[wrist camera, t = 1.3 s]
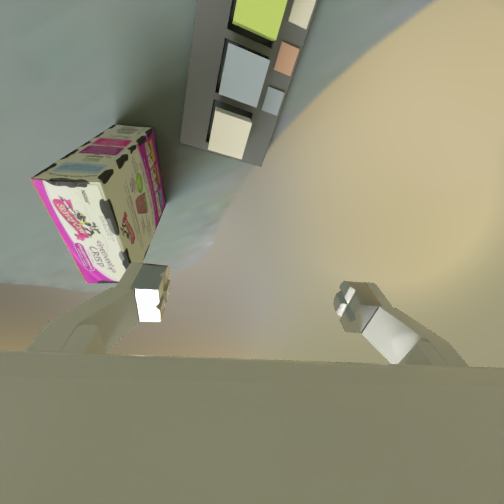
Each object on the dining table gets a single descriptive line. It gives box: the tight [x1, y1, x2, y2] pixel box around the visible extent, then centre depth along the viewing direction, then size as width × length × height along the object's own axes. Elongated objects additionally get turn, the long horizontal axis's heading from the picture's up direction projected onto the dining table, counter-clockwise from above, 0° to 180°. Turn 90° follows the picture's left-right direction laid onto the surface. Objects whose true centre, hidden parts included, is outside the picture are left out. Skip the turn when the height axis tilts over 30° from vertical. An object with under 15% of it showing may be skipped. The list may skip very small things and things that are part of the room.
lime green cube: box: [232, 0, 287, 41], centre depth 21 cm, size 4×4×4 cm
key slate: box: [219, 43, 270, 108], centre depth 24 cm, size 4×4×4 cm
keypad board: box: [179, 0, 319, 167], centre depth 25 cm, size 23×11×2 cm, turn 162°
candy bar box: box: [30, 125, 166, 283], centre depth 26 cm, size 11×5×16 cm, turn 175°
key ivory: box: [208, 107, 252, 160], centre depth 27 cm, size 4×4×4 cm
